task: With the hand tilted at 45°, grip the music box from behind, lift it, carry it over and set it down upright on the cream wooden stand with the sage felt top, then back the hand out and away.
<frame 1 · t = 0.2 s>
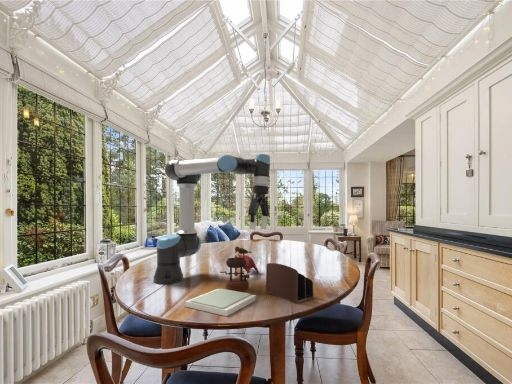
hand: (258, 229, 143), 28 cm above the table, tool pointing down, fingers open, 13 cm apart
display stand: (221, 303, 119), on the table
red winged figure: (247, 273, 171), on the table
letter holder: (288, 296, 129), on the table
music box: (236, 289, 140), on the table
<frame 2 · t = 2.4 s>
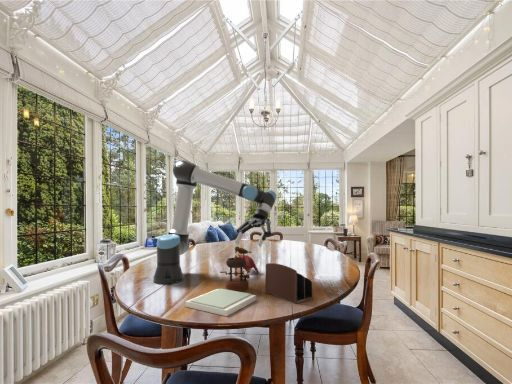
hand: (247, 244, 149), 20 cm above the table, tool tilted 45°, fingers open, 13 cm apart
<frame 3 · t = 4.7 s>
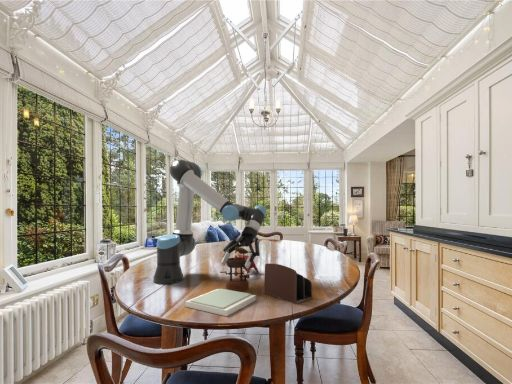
hand: (234, 265, 139), 11 cm above the table, tool tilted 45°, fingers open, 13 cm apart
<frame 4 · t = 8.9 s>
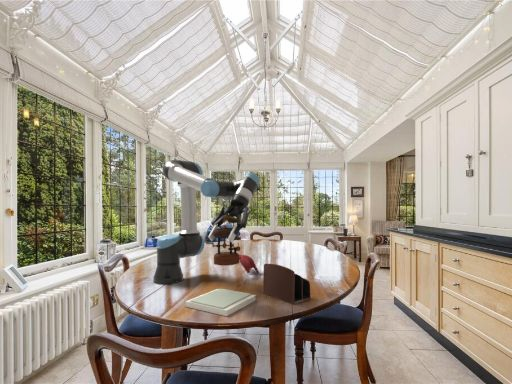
hand: (220, 239, 119), 26 cm above the table, tool tilted 45°
music box: (224, 263, 121), point 16 cm above the table, touching gripper, hand
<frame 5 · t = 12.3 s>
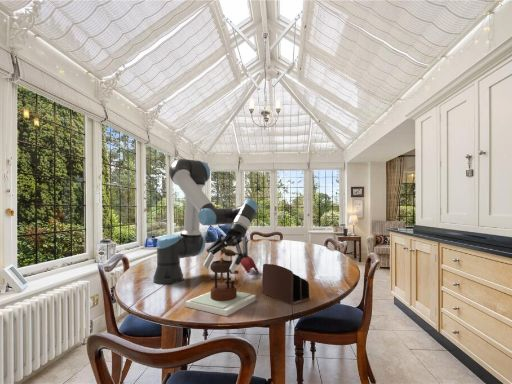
hand: (217, 269, 117), 14 cm above the table, tool tilted 45°, fingers open, 13 cm apart
music box: (221, 297, 119), point 2 cm above the table, touching display stand
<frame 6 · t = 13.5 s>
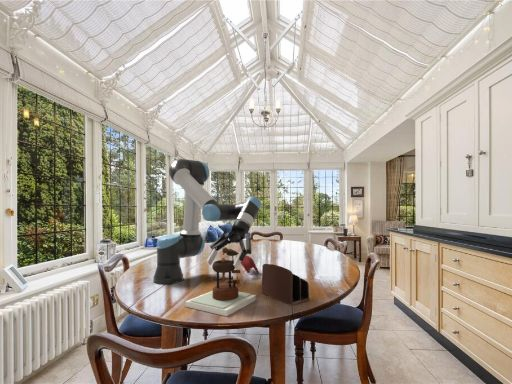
hand: (221, 265, 119), 15 cm above the table, tool tilted 45°, fingers open, 13 cm apart
music box: (223, 297, 119), point 2 cm above the table, touching display stand, gripper
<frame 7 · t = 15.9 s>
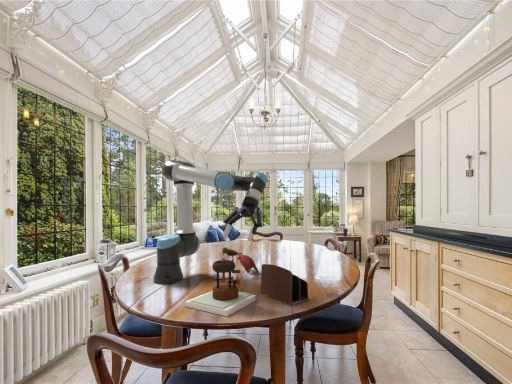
hand: (236, 238, 133), 24 cm above the table, tool tilted 35°, fingers open, 13 cm apart
music box: (223, 297, 119), point 2 cm above the table, touching display stand
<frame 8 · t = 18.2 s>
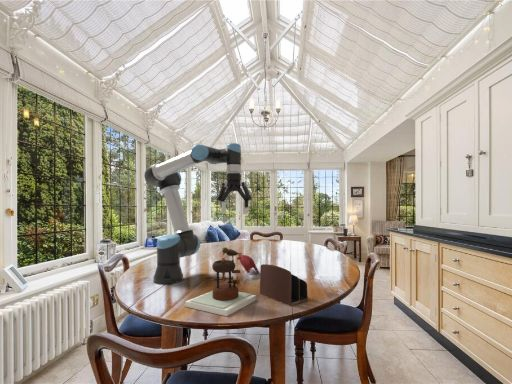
hand: (234, 214, 154), 35 cm above the table, tool pointing down, fingers open, 13 cm apart
at the end: music box inside the target area on the display stand (0.9 cm from its centre), point 2.3 cm above the display stand's base; music box tilted 1°; the gripper is holding nothing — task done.
